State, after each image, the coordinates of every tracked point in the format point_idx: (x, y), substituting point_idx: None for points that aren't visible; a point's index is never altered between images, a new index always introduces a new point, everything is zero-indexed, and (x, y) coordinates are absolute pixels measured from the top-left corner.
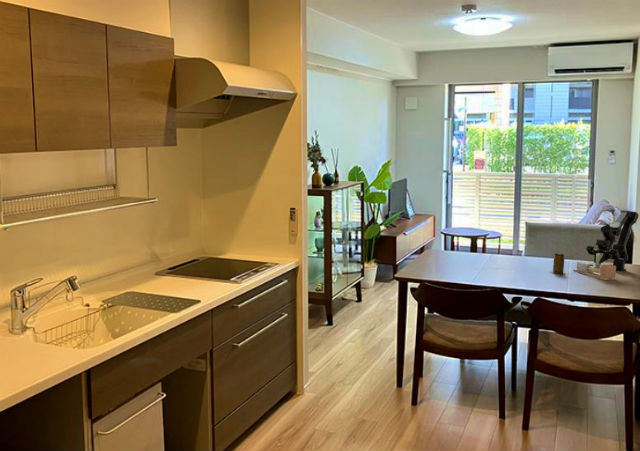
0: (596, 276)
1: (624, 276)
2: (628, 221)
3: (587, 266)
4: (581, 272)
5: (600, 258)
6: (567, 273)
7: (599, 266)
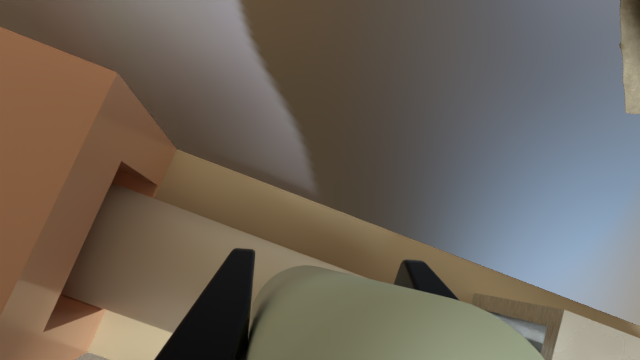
0: (249, 177)
1: None
2: None
3: (529, 318)
4: (545, 293)
5: (248, 356)
6: (634, 94)
7: (256, 302)
